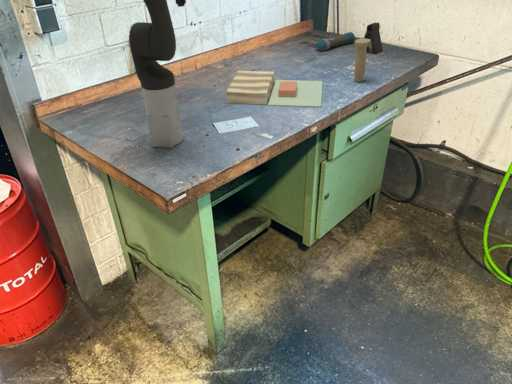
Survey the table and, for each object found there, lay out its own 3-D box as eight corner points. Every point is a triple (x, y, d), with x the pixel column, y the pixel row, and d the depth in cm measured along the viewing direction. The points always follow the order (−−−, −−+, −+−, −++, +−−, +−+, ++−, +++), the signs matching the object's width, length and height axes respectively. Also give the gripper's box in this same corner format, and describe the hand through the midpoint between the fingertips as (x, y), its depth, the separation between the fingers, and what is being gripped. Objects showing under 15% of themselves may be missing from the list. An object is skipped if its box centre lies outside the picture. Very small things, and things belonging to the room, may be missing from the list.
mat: (321, 107, 144) (321, 106, 144) (267, 105, 146) (267, 104, 146) (322, 82, 163) (322, 81, 163) (275, 80, 166) (275, 79, 166)
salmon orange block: (278, 90, 150) (278, 96, 151) (295, 90, 149) (295, 97, 151) (280, 81, 157) (280, 87, 159) (296, 81, 157) (296, 87, 158)
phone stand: (358, 51, 195) (361, 23, 188) (365, 47, 198) (368, 20, 191) (375, 54, 189) (379, 26, 183) (382, 51, 193) (386, 23, 186)
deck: (266, 104, 147) (266, 93, 145) (226, 103, 149) (226, 92, 147) (274, 81, 165) (274, 71, 163) (238, 81, 167) (237, 70, 165)
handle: (348, 82, 162) (352, 41, 154) (357, 77, 166) (361, 37, 158) (359, 84, 160) (364, 43, 151) (368, 80, 164) (373, 39, 155)
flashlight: (354, 43, 205) (355, 33, 202) (322, 53, 194) (322, 41, 191) (346, 41, 208) (347, 31, 205) (314, 50, 198) (314, 39, 195)
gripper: (146, -58, 120) (156, 8, 130) (192, -59, 118) (198, 8, 128) (156, -60, 126) (164, 3, 136) (199, -61, 124) (205, 3, 134)
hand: (181, 6), depth 132 cm, fingers closed
